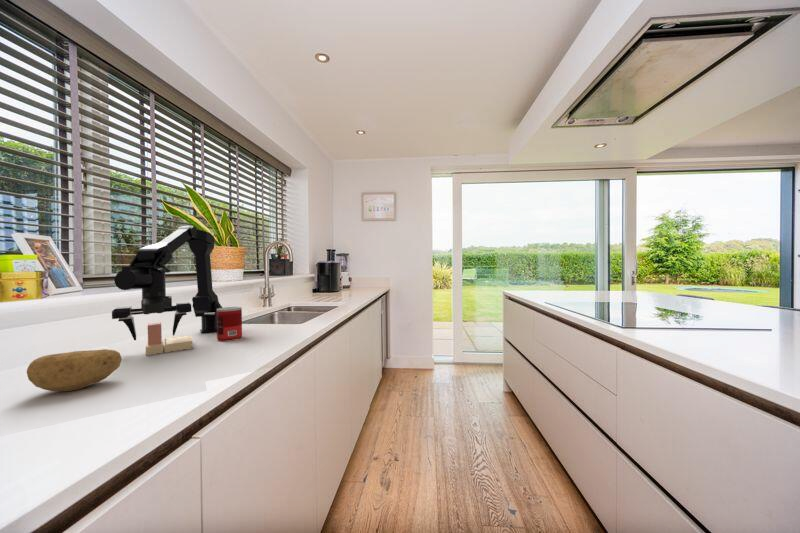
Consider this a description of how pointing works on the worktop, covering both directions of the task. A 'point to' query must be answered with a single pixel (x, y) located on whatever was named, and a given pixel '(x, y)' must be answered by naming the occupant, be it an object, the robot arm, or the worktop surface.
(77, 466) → the worktop surface
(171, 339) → the hinged cream panel
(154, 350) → the stub
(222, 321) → the canned food
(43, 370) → the potato
